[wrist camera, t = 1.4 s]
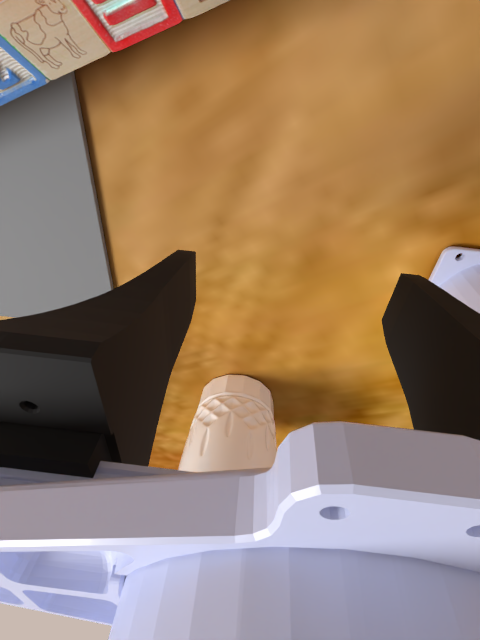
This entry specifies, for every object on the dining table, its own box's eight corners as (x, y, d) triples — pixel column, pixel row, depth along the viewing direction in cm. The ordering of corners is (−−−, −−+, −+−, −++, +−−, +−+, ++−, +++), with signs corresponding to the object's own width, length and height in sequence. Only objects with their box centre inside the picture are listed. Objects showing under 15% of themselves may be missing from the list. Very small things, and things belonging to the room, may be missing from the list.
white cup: (202, 360, 30) (174, 470, 22) (289, 379, 30) (293, 493, 22) (191, 414, 35) (166, 520, 27) (267, 429, 35) (263, 538, 27)
